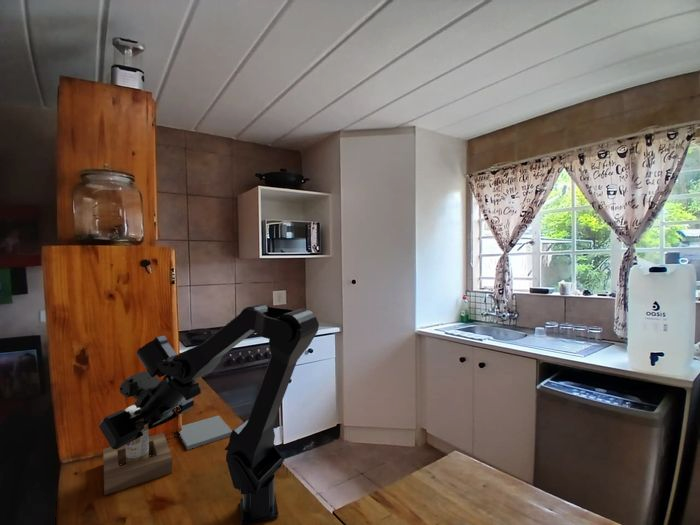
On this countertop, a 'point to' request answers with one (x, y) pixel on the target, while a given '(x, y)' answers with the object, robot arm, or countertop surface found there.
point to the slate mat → (204, 432)
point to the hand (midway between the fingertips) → (132, 434)
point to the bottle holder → (136, 465)
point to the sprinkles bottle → (137, 442)
